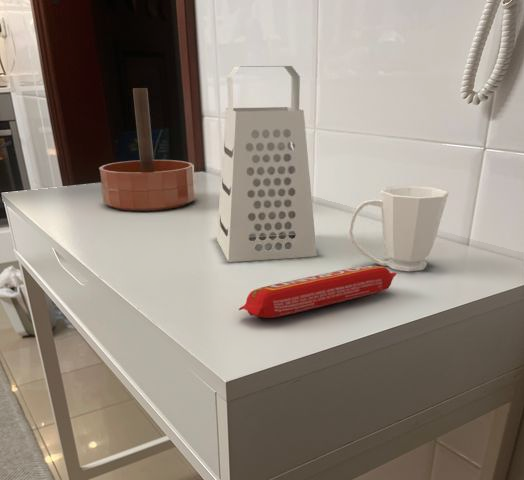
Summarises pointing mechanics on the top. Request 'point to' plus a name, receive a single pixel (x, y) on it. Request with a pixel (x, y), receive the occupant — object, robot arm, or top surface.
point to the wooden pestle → (143, 129)
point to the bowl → (147, 185)
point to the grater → (265, 180)
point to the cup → (407, 224)
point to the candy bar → (317, 291)
